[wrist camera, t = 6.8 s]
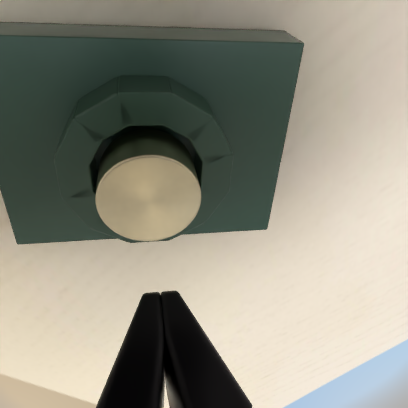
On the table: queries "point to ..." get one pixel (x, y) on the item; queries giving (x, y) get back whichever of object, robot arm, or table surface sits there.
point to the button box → (140, 118)
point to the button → (147, 186)
